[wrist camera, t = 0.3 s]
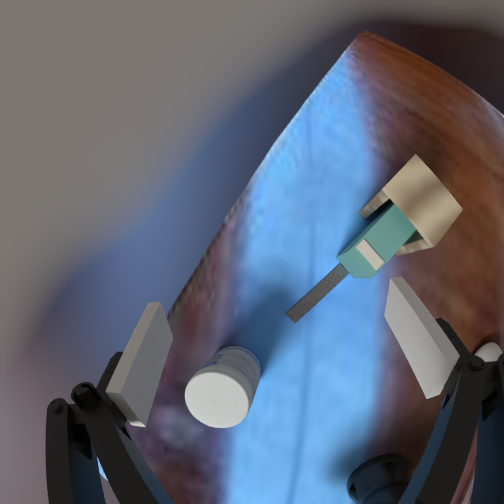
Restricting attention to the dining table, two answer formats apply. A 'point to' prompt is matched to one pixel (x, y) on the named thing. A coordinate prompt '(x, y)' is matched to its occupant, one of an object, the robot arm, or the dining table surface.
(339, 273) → the rail
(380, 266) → the beige-capped teal block
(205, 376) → the supplement tub
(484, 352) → the flower in vase
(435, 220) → the tunnel
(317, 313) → the dining table surface
